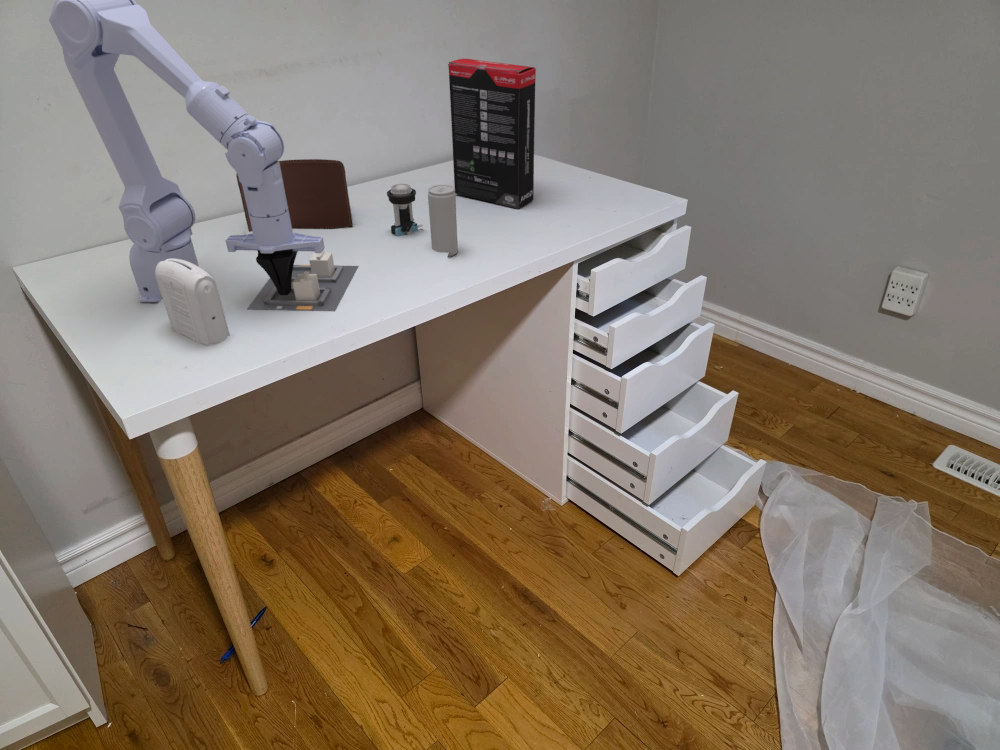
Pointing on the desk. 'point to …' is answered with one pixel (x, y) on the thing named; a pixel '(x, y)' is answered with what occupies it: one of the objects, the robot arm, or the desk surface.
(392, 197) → the push button
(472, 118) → the graphics card box
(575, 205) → the desk surface
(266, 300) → the switch bank
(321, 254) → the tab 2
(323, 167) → the letter holder
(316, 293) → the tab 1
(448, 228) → the beverage can
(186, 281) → the photo printer
